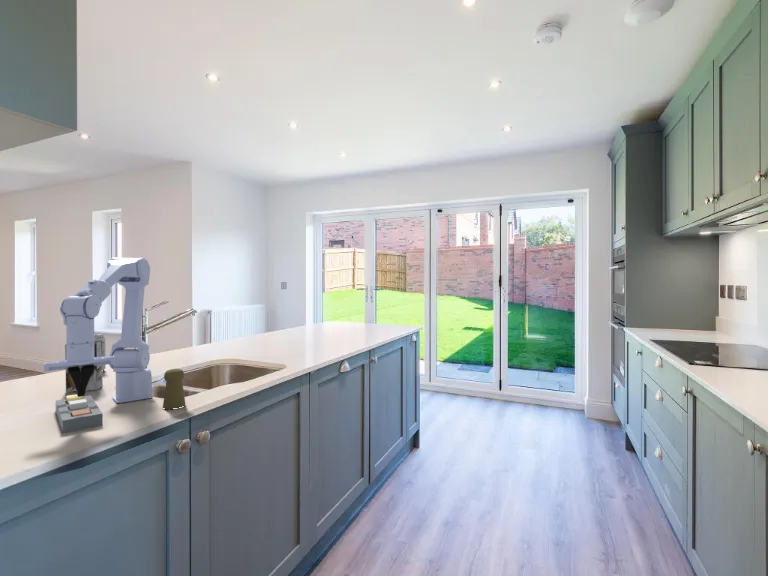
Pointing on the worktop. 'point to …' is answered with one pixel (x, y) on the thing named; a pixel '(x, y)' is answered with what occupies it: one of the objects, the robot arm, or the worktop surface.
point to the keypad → (80, 421)
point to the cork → (174, 389)
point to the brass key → (73, 398)
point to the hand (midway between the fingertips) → (80, 395)
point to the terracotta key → (80, 412)
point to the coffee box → (96, 377)
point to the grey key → (77, 404)
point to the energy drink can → (98, 338)
